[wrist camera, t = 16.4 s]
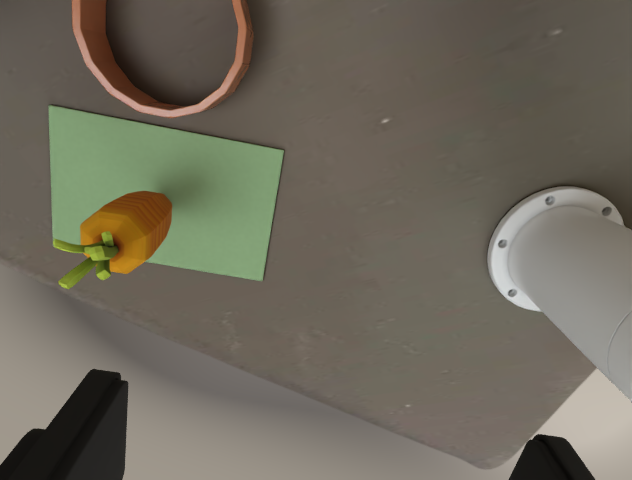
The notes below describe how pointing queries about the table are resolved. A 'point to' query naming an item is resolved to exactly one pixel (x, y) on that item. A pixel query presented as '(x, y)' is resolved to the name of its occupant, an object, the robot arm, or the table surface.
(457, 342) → the table surface
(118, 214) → the carrot
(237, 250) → the napkin
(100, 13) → the pan
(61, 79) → the table surface
